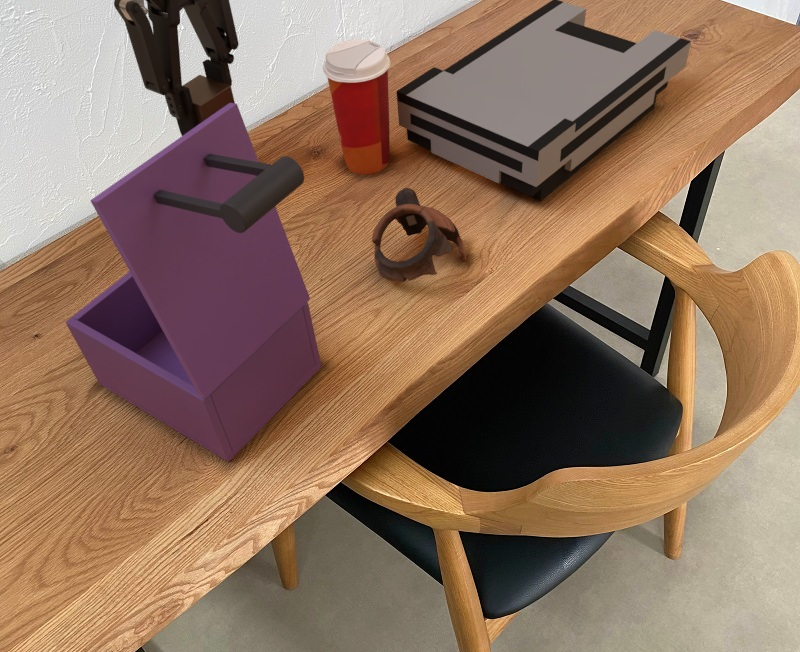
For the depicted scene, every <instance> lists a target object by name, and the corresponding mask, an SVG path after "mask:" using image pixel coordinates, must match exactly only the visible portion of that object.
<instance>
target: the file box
mask: <svg viewBox="0 0 800 652" xmlns="http://www.w3.org/2000/svg"><path fill="white" fill-rule="evenodd" d="M64 322H65V325H66V326H67V328H68V330H69V331H70V334H71V335H72V337H73V339H74V340H75V342H76V344H77V346H78V348H79V350H80V352H81V354H82V355H83V357H84V359H85V360H86V363H87V364H88V366H89V367H90V370H91V371H92V373H93V375H94V377H95V379H96V380H97V382H98V384H99V385H100V386H102V387H103V388H105V389H106V390H108V391H110V392H112V393H113V394H115V395H116V396H118V397H119V398H121V399H123V400H125V401H127V402H128V403H130V404H131V405H133V406H134V407H137V408H138V409H140V410H141V411H142V412H145V413H146V414H148V415H150V416H151V417H153V418H155V419H156V420H158V421H160V422H161V423H163V424H164V425H166V426H168V427H169V428H171V429H173V430H175V432H178V433H179V434H181V435H183V436H184V437H186V438H188V439H190V440H191V441H193V442H195V444H198V445H199V446H201V447H203V448H204V449H206V450H207V451H209V452H211V453H213V454H214V455H216V456H217V457H219V458H220V459H222V460H224V461H225V462H227V463H229V462H230V461H231V460H233V459H234V457H236V456H237V455H238V454H239V452H240V451H241V450H242V449H243V448H244V447H246V445H247V444H248V443H249V442H250V441H251V440H252V439H253V438H254V437H255V436H256V435H257V434H258V433H259V432H260V431H262V429H263V428H264V427H265V426H266V425H267V424H268V423H269V421H270V420H272V418H274V416H276V414H278V412H279V411H280V410H281V409H282V408H283V407H284V406H285V405H286V404H287V403H289V401H290V400H291V399H292V398H293V397H294V396H295V395H296V393H298V392H299V391H300V390H301V389H302V388H303V387H304V385H306V383H307V382H309V380H310V379H311V378H312V377H313V376H315V374H317V372H319V370H320V369H321V368H322V362H321V357H320V352H319V347H318V342H317V338H316V334H315V329H314V324H313V318H312V315H311V310H310V306H309V301H308V302H307V303H306V304H305V305H304V306H303V307H302V308H300V309H299V310H298V311H297V312H296V313H295V314H294V315H293V316H292V317H291V318H290V319H289V320H288V321H287V322H286V323H285V324H284V325H283V326H281V327H280V328H279V329H278V330H277V331H276V332H275V333H274V334H273V335H272V336H271V337H270V338H269V339H268V340H267V341H266V342H265V343H264V344H262V345H261V346H260V347H259V348H258V349H257V350H256V351H255V352H254V353H253V354H252V355H251V356H250V357H249V358H248V359H247V360H246V361H245V362H244V363H242V364H241V365H240V366H239V367H238V368H237V369H236V370H235V371H234V372H233V373H232V374H231V375H230V376H229V377H228V378H227V379H226V380H225V381H223V382H222V383H221V384H220V385H219V386H218V387H217V388H216V389H215V390H214V391H213V392H212V393H211V394H210V395H209V396H208V397H207V398H203V397H200V396H199V395H198V393H197V391H196V389H195V388H194V386H193V384H192V382H191V380H190V379H189V377H188V375H187V373H186V371H185V370H184V368H183V366H182V364H181V362H180V361H179V359H178V357H177V355H176V353H175V352H174V350H173V348H172V346H171V344H170V343H169V341H168V339H167V337H166V336H165V334H164V332H163V330H162V328H161V327H160V325H159V323H158V321H157V319H156V318H155V316H154V314H153V312H152V310H151V309H150V307H149V305H148V303H147V301H146V300H145V298H144V296H143V294H142V292H141V291H140V289H139V287H138V285H137V283H136V282H135V280H134V278H133V276H132V274H131V273H130V271H129V270H128V272H126V274H124V275H123V276H122V277H120V278H118V280H116V281H115V282H114V283H113V284H111V285H109V287H108V288H106V289H105V290H104V291H103V292H101V293H100V294H99V295H98V296H96V297H95V298H93V299H92V300H91V301H89V302H88V303H87V304H86V305H85V306H83V307H82V308H81V309H79V310H78V311H77V312H76V313H74V314H73V315H72V316H70V317H69V318H68V319H66V321H64Z"/></svg>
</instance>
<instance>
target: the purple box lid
mask: <svg viewBox="0 0 800 652" xmlns="http://www.w3.org/2000/svg"><path fill="white" fill-rule="evenodd" d="M304 182H305V173H304V170H303V168H302V167H301V165H300V164H299V163H298V162H297V160H295V159H293V157H291V156H287V155H283V156H280V158H278V159H277V160H276V161H274V162H273V163H272V164H271V163H266V162H260V160H259V159H258V156H257V153H256V151H255V147H254V145H253V143H252V141H251V138H250V135H249V133H248V129H247V128H246V124H245V122H244V119H243V117H242V114H241V111H240V108H239V106H238V103H236V102H235V103H229V104H227V105H226V106H224V107H223V108H222V109H220V110H219V111H217V112H216V113H214V114H213V115H212V116H210V117H209V118H207V119H206V120H204V121H203V122H202V123H200V124H199V125H197V126H196V127H194V128H193V129H192V130H190V131H189V132H187V133H186V134H184V135H183V136H182V135H181V136H180V137H179V138H177V139H176V140H175V141H173V142H172V143H170V144H168V145H167V146H166V147H164V148H163V149H161V150H160V151H159V152H157V153H156V154H154V155H153V156H151V157H150V158H149V159H146V161H144V162H143V163H141V164H140V165H139V166H137V167H136V168H134V169H133V170H132V171H130V172H129V173H127V174H126V175H124V176H123V177H121V178H120V179H119V180H117V181H116V182H115V183H113V184H112V185H110V186H109V187H107V188H106V189H104V190H103V191H101V192H100V193H99V194H98V195H96V196H94V197H93V198H91V199H90V203H91V205H92V207H93V209H94V210H95V212H96V213H97V216H98V218H99V219H100V220H101V223H102V224H103V226H104V228H105V229H106V232H107V233H108V235H109V237H110V238H111V240H112V242H113V244H114V246H115V248H116V250H117V251H118V253H119V255H120V256H121V258H122V260H123V262H124V264H125V266H126V267H127V269H128V272H129V271H130V273H131V274H132V276H133V278H134V280H135V282H136V283H137V285H138V287H139V289H140V291H141V292H142V294H143V296H144V298H145V300H146V301H147V303H148V305H149V307H150V309H151V310H152V312H153V314H154V316H155V318H156V319H157V321H158V323H159V325H160V327H161V328H162V330H163V332H164V334H165V336H166V337H167V339H168V341H169V343H170V344H171V346H172V348H173V350H174V352H175V353H176V355H177V357H178V359H179V361H180V362H181V364H182V366H183V368H184V370H185V371H186V373H187V375H188V377H189V379H190V380H191V382H192V384H193V386H194V388H195V389H196V391H197V393H198V395H199V396H200V397H203V398H207V397H208V396H209V395H210V394H211V393H212V392H213V391H214V390H215V389H216V388H217V387H218V386H219V385H220V384H221V383H222V382H223V381H225V380H226V379H227V378H228V377H229V376H230V375H231V374H232V373H233V372H234V371H235V370H236V369H237V368H238V367H239V366H240V365H241V364H242V363H244V362H245V361H246V360H247V359H248V358H249V357H250V356H251V355H252V354H253V353H254V352H255V351H256V350H257V349H258V348H259V347H260V346H261V345H262V344H264V343H265V342H266V341H267V340H268V339H269V338H270V337H271V336H272V335H273V334H274V333H275V332H276V331H277V330H278V329H279V328H280V327H281V326H283V325H284V324H285V323H286V322H287V321H288V320H289V319H290V318H291V317H292V316H293V315H294V314H295V313H296V312H297V311H298V310H299V309H300V308H302V307H303V306H304V305H305V304H306V303H307V302H308V303H309V301H310V300H311V296H310V294H309V292H308V289H307V286H306V283H305V282H304V281H305V280H304V279H303V276H302V273H301V270H300V268H299V265H298V262H297V260H296V257H295V254H294V252H293V249H292V247H291V244H290V241H289V239H288V236H287V233H286V230H285V228H284V224H283V223H282V220H281V217H280V215H279V211H278V209H277V205H279V204H280V203H282V202H283V201H284V200H285V199H286V198H287V197H289V196H290V195H291V194H292V193H294V192H295V191H296V190H297V189H298V188H299V187H301V186H302V185H303V184H304Z"/></svg>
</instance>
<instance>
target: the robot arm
mask: <svg viewBox="0 0 800 652" xmlns="http://www.w3.org/2000/svg"><path fill="white" fill-rule="evenodd" d="M145 2H146V4H147V6H145ZM113 5H114V8H115V10H116V11H117V13H118V14H119V16H120V17H121V19H122V20H123V22H124V24H125V27H126V31H127V34H128V37H129V41H130V44H131V47H132V50H133V54H134V57H135V61H136V63H137V66H138V70H139V73H140V77H141V79H142V83H143V86H144V89H146V90H148V91H151V92H154V93H156V94H158V95H161V96H164V98H165V103H166V104H167V108H168V111H169V114H170V115H171V116H172V117H173V118H175V119H176V118H177V120H176V122H178V123H177V126H178V125H179V126H178V129H179V128H180V130H179V133H180V132H181V133H180V135H181V137H182V136H183V135H184V134H186V133H187V132H189V131H190V130H192V129H193V128H194V127H196V126H197V125H199V124H198V120H197V117H196V113H195V109H194V106H193V101H192V98H191V94H190V90H189V88H187V87H184V86H183V82H182V69H181V55H180V41H179V31H178V29H179V27H178V26H179V25H180V24H181V11H182V10H184V12H185V14H186V16H187V18H188V20H189V22H190V24H191V26H192V28H193V30H194V32H195V34H196V36H197V38H198V41H199V43H200V45H201V46H202V48H203V50H204V53H205V55H206V57H208V58H209V59H208V58H207V59H205V60H203V61H202V66H203V70H204V73H205V77H207V78H210V79H213V80H216V81H219V82H222V83H225V84H228V85H230V86H231V87H232V86H233V79H232V76H231V71H230V66H229V65H232V64H233V63H234V60H235V56H234V54H232V53H231V52H232V50H234V51H236V50H237V49H238V48H239V39H238V35H237V30H236V25H235V21H234V16H233V11H232V8H231V3H230V0H114V1H113ZM151 24H152V25H151Z"/></svg>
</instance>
